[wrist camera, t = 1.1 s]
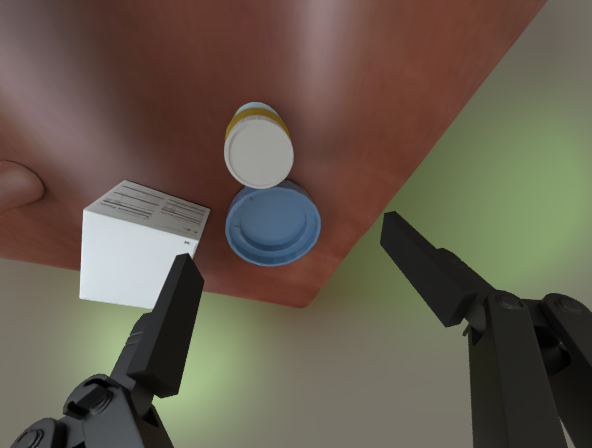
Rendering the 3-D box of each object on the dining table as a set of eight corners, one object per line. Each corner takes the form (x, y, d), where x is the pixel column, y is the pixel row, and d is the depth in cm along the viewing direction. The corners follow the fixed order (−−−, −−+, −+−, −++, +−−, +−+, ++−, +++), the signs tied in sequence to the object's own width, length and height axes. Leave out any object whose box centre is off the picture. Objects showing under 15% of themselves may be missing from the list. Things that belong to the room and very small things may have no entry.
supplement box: (122, 177, 32) (80, 207, 24) (211, 207, 37) (200, 240, 29) (111, 257, 39) (75, 300, 31) (187, 273, 44) (173, 314, 36)
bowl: (209, 200, 36) (204, 213, 32) (296, 161, 35) (301, 170, 31) (254, 261, 45) (254, 277, 41) (324, 232, 44) (331, 245, 40)
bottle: (272, 159, 34) (283, 201, 22) (228, 143, 32) (211, 181, 19) (287, 113, 31) (310, 132, 18) (239, 92, 28) (228, 98, 16)
